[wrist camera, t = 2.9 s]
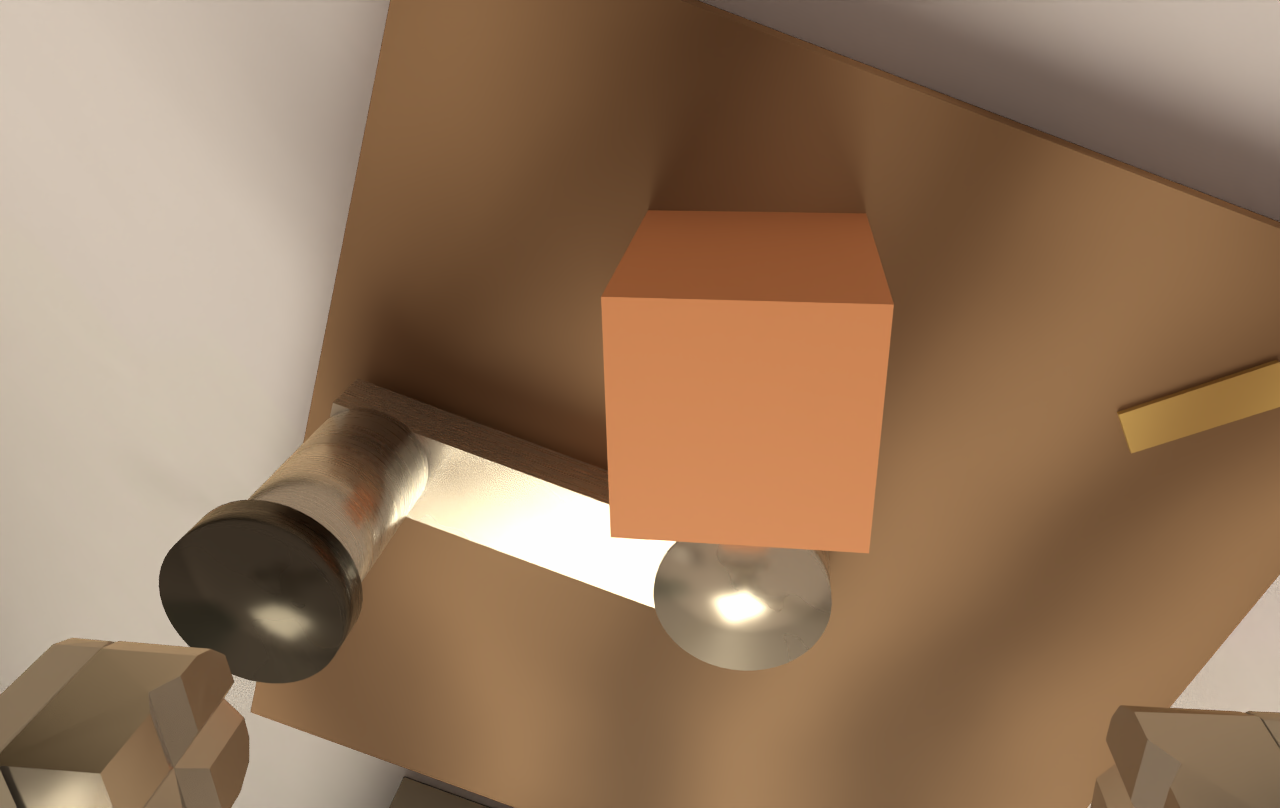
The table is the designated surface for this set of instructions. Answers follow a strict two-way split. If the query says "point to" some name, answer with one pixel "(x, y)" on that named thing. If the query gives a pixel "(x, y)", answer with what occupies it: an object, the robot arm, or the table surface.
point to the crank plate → (910, 436)
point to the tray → (427, 797)
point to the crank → (475, 510)
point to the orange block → (746, 379)
